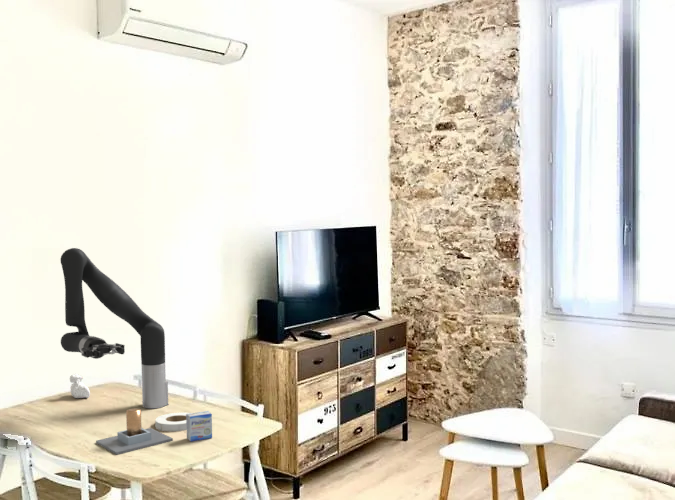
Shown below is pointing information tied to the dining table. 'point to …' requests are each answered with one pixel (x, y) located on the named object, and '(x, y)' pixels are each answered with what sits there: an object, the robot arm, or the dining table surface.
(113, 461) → the dining table surface
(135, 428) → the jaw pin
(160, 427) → the roll of tape
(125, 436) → the housing
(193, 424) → the medicine box
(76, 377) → the duck figurine
